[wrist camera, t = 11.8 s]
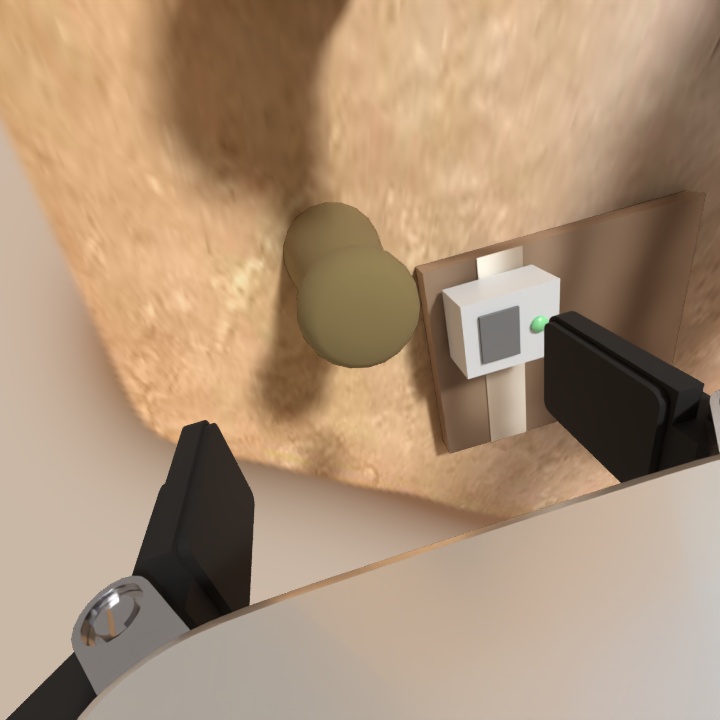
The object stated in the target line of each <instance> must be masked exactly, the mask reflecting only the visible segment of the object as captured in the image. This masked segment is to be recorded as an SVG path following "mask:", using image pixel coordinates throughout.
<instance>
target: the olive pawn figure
mask: <svg viewBox="0 0 720 720" xmlns="http://www.w3.org/2000/svg"><path fill="white" fill-rule="evenodd" d="M283 247H284V262H285V265H286V268H287V270H288V273H289V276H290V278H291V279H292V281H293V283H294V284H295V286H296V288H297V289H298V291H299V292H298V295H297V320H298V324H299V326H300V329H301V331H302V334H303V337H304V339H305V340H306V341H307V342H308V343H309V344H310V346H311V347H312V348H313V349H314V350H315V352H316V353H317V354H318V355H319V356H321V357H322V358H324V359H326V360H327V361H329V362H331V363H332V364H335V365H339V366H343V367H347V368H366V367H371V366H374V365H378V364H381V363H384V362H386V361H387V360H389V359H390V358H392V357H393V356H395V355H396V354H398V353H399V352H400V351H401V350H402V348H403V347H404V346H405V345H406V344H407V343H408V341H409V340H410V339H411V337H412V335H413V333H414V331H415V329H416V326H417V324H418V320H419V312H420V301H419V296H418V291H417V286H416V282H415V281H414V279H413V277H412V276H411V274H410V272H409V271H408V269H407V268H406V266H405V265H404V264H402V263H401V262H400V261H399V260H398V259H396V258H395V257H394V256H393V255H391V254H390V253H389V252H387V251H384V250H383V248H382V245H381V242H380V239H379V237H378V234H377V231H376V230H375V228H374V226H373V225H372V223H371V222H370V220H369V218H367V217H366V216H365V215H364V214H363V213H361V212H360V211H359V210H358V209H357V208H354V207H351V206H349V205H346V204H343V203H327V202H325V203H322V204H319V205H316V206H313V207H310V208H309V209H307V210H306V211H305V212H303V213H302V214H301V215H299V216H298V217H297V218H296V219H295V221H294V222H293V224H292V225H291V227H290V228H289V230H288V232H287V235H286V239H285V242H284V246H283Z"/></svg>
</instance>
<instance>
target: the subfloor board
mask: <svg viewBox="0 0 720 720" xmlns="http://www.w3.org/2000/svg"><path fill="white" fill-rule="evenodd" d="M705 196H706V193H698V192H691V191H683V192H680V193H676V194H673V195H669V196H665V197H662V198H658V199H655V200H651V201H648V202H644V203H641V204H637V205H633V206H630V207H626V208H623V209H619V210H616V211H612V212H609V213H605V214H601V215H598V216H594V217H591V218H587V219H584V220H580V221H577V222H573V223H569V224H566V225H562V226H559V227H555V228H552V229H548V230H545V231H541V232H537V233H534V234H530V235H527V236H523V237H520V238H516V239H513V240H509V241H505V242H502V243H498V244H495V245H491V246H488V247H484V248H481V249H477V250H473V251H470V252H466V253H463V254H459V255H456V256H452V257H449V258H445V259H441V260H438V261H434V262H431V263H427V264H424V265H420V266H417V267H416V273H417V280H418V286H419V292H420V298H421V305H422V311H423V317H424V323H425V330H426V336H427V342H428V348H429V355H430V361H431V367H432V373H433V380H434V386H435V392H436V398H437V405H438V411H439V417H440V424H441V430H442V436H443V442H444V444H445V446H446V447H447V449H448V451H449V453H454V452H457V451H460V450H464V449H467V448H470V447H474V446H477V445H480V444H484V443H487V442H490V441H491V442H494V441H497V440H501V439H504V438H507V437H511V436H514V435H517V434H520V433H524V432H526V431H527V430H530V429H533V428H536V427H540V426H543V425H546V424H550V423H553V422H556V421H557V420H556V419H555V418H554V417H553V416H552V415H551V414H550V413H549V412H548V410H547V409H546V406H545V403H544V357H542V358H539V359H535V360H532V361H528V362H525V363H522V364H518V365H515V366H511V367H508V368H505V369H501V370H498V371H494V372H491V373H488V374H484V375H481V376H478V377H474V378H471V379H467V377H466V376H465V375H464V373H463V372H462V371H461V370H460V368H459V367H458V366H457V365H456V363H455V362H454V361H453V359H452V358H451V357H450V349H449V341H448V334H447V326H446V318H445V310H444V303H443V295H442V290H444V289H447V288H451V287H454V286H458V285H461V284H465V283H468V282H472V281H475V280H479V279H482V278H486V277H489V276H493V275H496V274H500V273H503V272H507V271H511V270H514V269H518V268H521V267H525V266H528V265H534V266H536V267H538V268H540V269H542V270H544V271H546V272H548V273H550V274H552V275H554V276H556V277H558V278H560V304H559V314H562V313H565V312H568V311H575V312H577V313H579V314H581V315H583V316H584V317H586V318H588V319H590V320H591V321H593V322H595V323H597V324H599V325H600V326H602V327H604V328H606V329H608V330H609V331H611V332H613V333H615V334H616V335H618V336H620V337H622V338H624V339H625V340H627V341H629V342H631V343H633V344H634V345H636V346H638V347H640V348H641V349H643V350H645V351H647V352H649V353H650V354H652V355H654V356H656V357H658V358H659V359H661V360H663V361H665V362H666V363H668V364H670V365H672V363H673V358H674V352H675V347H676V342H677V337H678V332H679V327H680V322H681V317H682V312H683V307H684V302H685V297H686V292H687V287H688V282H689V277H690V272H691V267H692V261H693V256H694V251H695V246H696V241H697V236H698V231H699V226H700V221H701V216H702V211H703V206H704V201H705Z"/></svg>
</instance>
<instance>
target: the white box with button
mask: <svg viewBox="0 0 720 720" xmlns="http://www.w3.org/2000/svg"><path fill="white" fill-rule="evenodd" d="M442 295H443V303H444V310H445V318H446V326H447V334H448V341H449V349H450V357H451V358H452V359H453V361H454V362H455V363H456V365H457V366H458V367H459V368H460V370H461V371H462V372H463V373H464V375H465V376H466V377H467V379H471V378H474V377H478V376H481V375H484V374H488V373H491V372H494V371H498V370H501V369H505V368H508V367H511V366H515V365H518V364H522V363H525V362H528V361H532V360H535V359H539V358H542V357H544V326H545V324H547V323H549V319H550V318H551V317H552V316H555V315H558V314H559V304H560V278H558V277H556V276H554V275H552V274H550V273H548V272H546V271H544V270H542V269H540V268H538V267H536V266H534V265H528V266H525V267H521V268H518V269H514V270H511V271H507V272H503V273H500V274H496V275H493V276H489V277H486V278H482V279H479V280H475V281H472V282H468V283H465V284H461V285H458V286H454V287H451V288H447V289H444V290H442Z"/></svg>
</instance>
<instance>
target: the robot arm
mask: <svg viewBox="0 0 720 720" xmlns="http://www.w3.org/2000/svg"><path fill="white" fill-rule="evenodd" d="M703 387H704V383H702V382H700V381H699V380H697V379H695V378H693V377H691V376H690V375H688V374H686V373H684V372H683V371H681V370H679V369H677V368H675V367H674V366H672V365H670V364H668V363H666V362H665V361H663V360H661V359H659V358H658V357H656V356H654V355H652V354H650V353H649V352H647V351H645V350H643V349H641V348H640V347H638V346H636V345H634V344H633V343H631V342H629V341H627V340H625V339H624V338H622V337H620V336H618V335H616V334H615V333H613V332H611V331H609V330H608V329H606V328H604V327H602V326H600V325H599V324H597V323H595V322H593V321H591V320H590V319H588V318H586V317H584V316H583V315H581V314H579V313H577V312H575V311H568V312H565V313H562V314H558V315H555V316H552V317H551V318H550V319H549V323H547V324H545V326H544V403H545V406H546V409H547V410H548V412H549V413H550V414H551V415H552V416H553V417H554V418H555V419H556V420H557V421H558V422H559V423H560V424H561V425H562V426H563V427H564V428H565V429H567V430H568V431H569V432H570V433H571V434H572V435H573V436H574V437H575V438H576V439H577V440H578V441H579V442H580V443H581V444H582V445H583V446H584V447H585V448H586V449H587V450H588V451H589V452H590V453H591V454H592V455H593V456H594V457H595V458H596V459H597V460H598V461H599V462H600V463H601V464H602V465H603V466H604V467H605V468H606V469H607V470H608V471H609V472H610V473H612V474H613V475H614V476H615V477H616V478H617V479H618V480H619V481H620V482H621V483H620V484H617V485H614V486H611V487H608V488H604V489H601V490H598V491H595V492H592V493H589V494H586V495H582V496H579V497H576V498H573V499H570V500H567V501H564V502H561V503H557V504H554V505H551V506H548V507H545V508H542V509H539V510H535V511H532V512H529V513H526V514H523V515H520V516H517V517H514V518H511V519H508V520H505V521H502V522H499V523H495V524H493V525H489V526H486V527H483V528H480V529H477V530H474V531H471V532H468V533H465V534H462V535H459V536H455V537H452V538H449V539H446V540H443V541H440V542H437V543H434V544H431V545H428V546H425V547H422V548H419V549H416V550H413V551H410V552H407V553H403V554H400V555H397V556H395V557H391V558H389V559H385V560H382V561H379V562H376V563H373V564H370V565H367V566H364V567H361V568H358V569H355V570H352V571H350V572H346V573H343V574H340V575H337V576H334V577H331V578H328V579H325V580H322V581H319V582H316V583H313V584H310V585H307V586H305V587H302V588H299V589H296V590H293V591H290V592H287V593H284V594H282V595H279V596H276V597H273V598H270V599H268V600H264V601H262V602H259V603H256V604H253V605H250V606H249V604H250V603H249V602H250V583H251V564H252V544H253V524H254V497H253V494H252V491H251V489H250V487H249V486H248V483H247V481H246V480H245V477H244V475H243V474H242V472H241V470H240V468H239V466H238V464H237V462H236V460H235V458H234V456H233V454H232V452H231V450H230V449H229V447H228V445H227V443H226V441H225V439H224V437H223V435H222V433H221V431H220V429H219V427H218V426H217V424H216V423H212V424H210V423H209V422H208V421H206V420H204V421H200V422H197V423H194V424H190V425H187V426H184V427H183V429H182V432H181V435H180V438H179V441H178V444H177V448H176V451H175V454H174V457H173V460H172V464H171V467H170V470H169V473H168V476H167V479H166V483H165V484H164V485H162V487H161V489H160V491H159V494H158V497H157V500H156V503H155V506H154V509H153V512H152V515H151V518H150V522H149V524H148V527H147V531H146V534H145V537H144V540H143V543H142V546H141V549H140V552H139V555H138V558H137V561H136V564H135V568H134V571H133V574H132V576H129V577H125V578H122V579H120V580H118V581H116V582H114V583H112V584H110V585H109V586H107V587H106V588H105V589H103V590H102V591H100V592H99V593H98V594H97V595H96V596H95V597H94V598H93V599H92V600H91V601H90V602H89V603H88V604H87V606H86V607H85V609H84V610H83V611H82V613H81V614H80V615H79V617H78V619H77V622H76V624H75V626H74V628H73V633H72V638H71V641H72V646H73V650H74V653H73V654H72V655H71V656H70V657H69V658H68V659H67V660H66V661H64V663H63V664H62V665H61V666H59V667H58V668H57V669H56V670H55V671H54V672H53V673H52V675H51V676H49V677H48V678H47V679H46V680H45V681H44V682H43V683H42V684H41V685H40V686H39V687H38V688H37V689H36V690H35V691H34V692H33V693H32V694H31V695H30V696H29V697H28V698H27V699H26V700H25V701H24V702H23V703H22V704H21V705H20V706H19V707H18V708H17V709H16V710H15V711H14V712H13V713H12V714H11V715H10V716H9V717H8V718H7V719H6V720H720V390H717V391H715V392H714V393H713V394H712V395H711V396H709V395H708V394H706V393H704V392H703Z"/></svg>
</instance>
